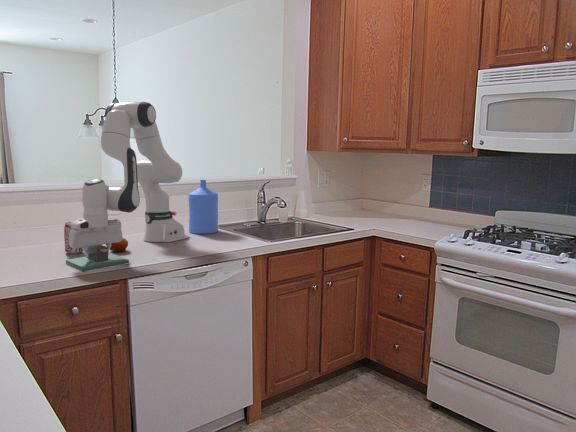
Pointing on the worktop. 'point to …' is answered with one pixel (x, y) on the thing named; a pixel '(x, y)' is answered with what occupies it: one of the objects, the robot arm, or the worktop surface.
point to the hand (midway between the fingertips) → (97, 256)
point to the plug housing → (98, 253)
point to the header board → (89, 265)
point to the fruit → (119, 246)
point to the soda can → (66, 235)
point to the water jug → (203, 210)
